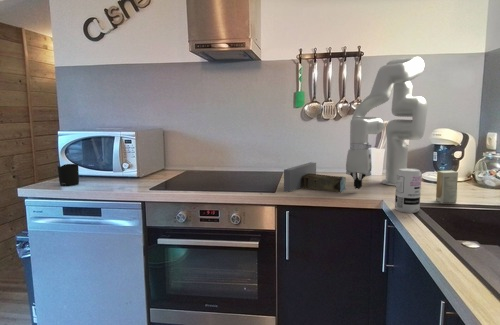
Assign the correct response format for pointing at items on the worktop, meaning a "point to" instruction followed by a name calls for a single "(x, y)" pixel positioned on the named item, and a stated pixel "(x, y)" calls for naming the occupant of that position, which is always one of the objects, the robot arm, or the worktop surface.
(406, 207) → the supplement can
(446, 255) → the worktop surface
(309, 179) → the beverage carton
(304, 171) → the board
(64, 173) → the pen holder
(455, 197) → the skincare box
